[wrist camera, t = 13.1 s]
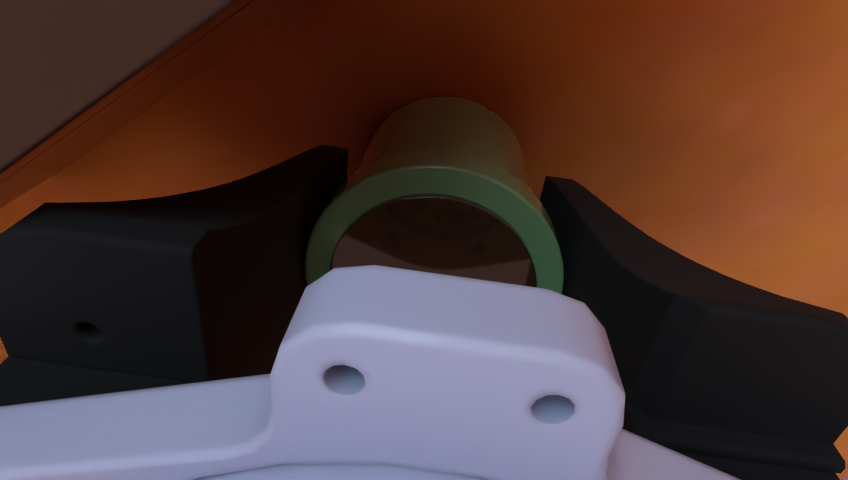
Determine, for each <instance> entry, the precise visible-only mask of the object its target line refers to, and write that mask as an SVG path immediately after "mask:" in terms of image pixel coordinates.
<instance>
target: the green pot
mask: <svg viewBox="0 0 848 480" xmlns="http://www.w3.org/2000/svg"><path fill="white" fill-rule="evenodd" d="M367 265H378V266H386V267H393V268H400V269H407V270H414V271H421V272H429V273H436V274H443V275H450V276H457V277H464V278H472V279H479V280H486V281H493V282H500V283H507V284H515V285H522V286H529V287H536V288H543V289H549V290H551V291H554V292H557V293H559V294H562V291H563V283H564V266H563V258H562V254H561V250H560V246H559V242H558V239H557V235H556V231H555V228H554V225H553V223H552V221H551V219H550V216H549V214H548V213H547V211H546V209H545V208H544V206H543V205H542V203H541V202H540V200H539V199H538V198H537V197H536V196H535V195H534V194H533V192H532V191H531V188H530V183H529V178H528V173H527V168H526V163H525V158H524V155H523V151H522V148H521V146H520V143H519V141H518V139H517V137H516V136H515V134H514V132H513V131H512V129H511V128H510V127H509V126H508V125H507V123H506V122H505V121H504V120H502V119H501V118H500V117H499V116H498V115H497V114H495V113H494V112H493V111H491V110H490V109H488V108H486V107H484V106H482V105H480V104H478V103H476V102H473V101H470V100H467V99H462V98H457V97H446V96H443V97H431V98H425V99H421V100H418V101H415V102H412V103H409V104H407V105H405V106H403V107H401V108H400V109H398V110H397V111H395V112H394V113H392V114H391V115H390V116H389V117H388V118H387V119H385V120H384V121H383V123H382V124H381V125H380V126H379V127H378V129H377V130H376V132H375V133H374V135H373V136H372V138H371V141H370V143H369V145H368V147H367V150H366V152H365V154H364V156H363V159H362V161H361V163H360V165H359V168H358V170H357V172H356V173H354V174H353V175H351V176H350V177H349V178H348V179H347V180H346V181H344V182H343V183H342V184H341V185H340V186H339V187H338V188H337V189H336V190H335V192H334V193H333V194H332V195H331V196H330V198H329V199H328V201H327V202H326V204H325V206H324V207H323V209H322V211H321V213H320V215H319V217H318V219H317V221H316V223H315V225H314V227H313V229H312V232H311V234H310V237H309V240H308V244H307V248H306V254H305V275H306V282H307V286H308V285H310V284H311V283H313V282H314V281H316V280H317V279H319V278H320V277H322V276H323V275H325V274H326V273H328V272H329V271H331V270H332V269H334V268H342V267H354V266H367Z"/></svg>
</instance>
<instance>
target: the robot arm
mask: <svg viewBox="0 0 848 480" xmlns="http://www.w3.org/2000/svg"><path fill="white" fill-rule="evenodd" d="M347 166H348V148H341V147H334V146H327V145H321V146H317V147H315V148H312V149H310V150H308V151H305V152H303V153H301V154H299V155H297V156H295V157H293V158H290V159H288V160H286V161H284V162H282V163H280V164H277V165H275V166H273V167H270V168H268V169H265V170H263V171H260V172H258V173H255V174H253V175H250V176H248V177H245V178H242V179H239V180H236V181H233V182H230V183H226V184H223V185H219V186H215V187H212V188H208V189H203V190H198V191H193V192H188V193H182V194H177V195H171V196H166V197H158V198H150V199H141V200H129V201H116V202H79V203H44V204H43V205H41V206H40V207H39V208H37V209H36V210H34V211H33V212H31V213H30V214H29V215H27V216H26V217H24V218H23V219H22V220H20V221H19V222H17V223H16V224H14V225H13V226H12V227H10V228H9V229H7V230H6V231H5V232H3V233H2V234H0V337H1V339H2V342H3V344H4V346H5V349H6V351H7V354H8V356H9V357H8V358H7V359H5V360H4V361H3V362H2V363H1V364H0V480H840V479H839V478H838V476H837V475H836V473H841V472H842V471H843V470H844V469H845V461H844V459H843V458H842V456H841V455H840V453H839V452H838V450H837V449H836V447H835V446H834V444H833V443H834V442H835V441H836V439H837V438H838V437H839V436H840V435H841V433H842V432H843V431H844V430H845V429H846V427H847V426H848V318H847V317H846V316H845V315H844V314H842V313H839V312H835V311H832V310H828V309H825V308H821V307H818V306H814V305H811V304H807V303H804V302H800V301H796V300H793V299H789V298H786V297H782V296H779V295H776V294H773V293H771V292H768V291H765V290H762V289H759V288H756V287H754V286H751V285H748V284H745V283H743V282H740V281H738V280H735V279H733V278H730V277H727V276H725V275H723V274H720V273H718V272H716V271H714V270H712V269H709V268H707V267H705V266H703V265H701V264H698V263H696V262H694V261H692V260H690V259H688V258H686V257H684V256H682V255H681V254H679V253H677V252H675V251H673V250H672V249H670V248H668V247H666V246H665V245H663V244H661V243H659V242H658V241H656V240H655V239H653V238H651V237H650V236H648V235H647V234H645V233H644V232H642V231H641V230H639V229H638V228H637V227H635V226H634V225H632V224H631V223H629V222H628V221H627V220H625V219H624V218H623V217H621V216H620V215H619V214H617V213H616V212H615V211H613V210H612V209H611V208H610V207H608V206H607V205H606V204H605V203H603V202H602V201H601V200H600V199H598V198H597V197H596V196H595V195H593V194H592V193H591V192H590V191H588V190H587V189H586V188H584V187H583V186H582V185H580V184H579V183H578V182H576V181H574V180H572V179H566V178H558V177H551V176H546V178H545V182H544V186H543V189H542V193H541V197H540V202H541V203H542V205H543V206H544V208H545V209H546V211H547V213H548V214H549V216H550V219H551V221H552V223H553V225H554V228H555V231H556V235H557V239H558V242H559V246H560V250H561V254H562V258H563V266H564V283H563V291H562V294H559V293H557V292H554V291H551V290H549V289H543V288H536V287H529V286H522V285H515V284H507V283H500V282H493V281H486V280H479V279H472V278H464V277H457V276H450V275H443V274H436V273H429V272H421V271H414V270H407V269H400V268H393V267H386V266H378V265H367V266H354V267H342V268H334V269H332V270H331V271H329V272H328V273H326V274H325V275H323V276H322V277H320V278H319V279H317V280H316V281H314V282H313V283H311V284H310V285H308V286H307V282H306V275H305V254H306V248H307V244H308V240H309V237H310V234H311V232H312V229H313V227H314V225H315V223H316V221H317V219H318V217H319V215H320V213H321V211H322V209H323V207H324V206H325V204H326V202H327V201H328V199H329V198H330V196H331V195H332V194H333V193H334V192H335V190H336V189H337V188H338V187H339V186H340V185H341V184H342V183H343V182H344V181H346V180H347Z"/></svg>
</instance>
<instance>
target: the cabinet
mask: <svg viewBox="0 0 848 480" xmlns="http://www.w3.org/2000/svg"><path fill="white" fill-rule="evenodd" d="M303 1H304V0H0V208H2V207H4V206H5V205H7V204H8V203H10V202H11V201H13V200H15V199H16V198H18V197H19V196H21V195H23V194H24V193H26V192H27V191H29V190H30V189H32V188H34V187H35V186H37V185H38V184H40V183H41V182H43V181H45V180H46V179H48V178H49V177H51V176H52V175H54V174H55V173H56V172H58V171H59V170H61V169H62V168H64V167H65V166H67V165H68V164H69V163H71V162H72V161H74V160H75V159H77V158H78V157H79V156H81V155H82V154H84V153H85V152H87V151H88V150H90V149H91V148H92V147H94V146H95V145H97V144H98V143H100V142H101V141H103V140H104V139H105V138H107V137H108V136H110V135H111V134H113V133H114V132H115V131H117V130H118V129H120V128H121V127H123V126H124V125H126V124H127V123H128V122H130V121H131V120H133V119H134V118H136V117H137V116H139V115H140V114H141V113H143V112H144V111H146V110H147V109H149V108H150V107H151V106H153V105H154V104H156V103H157V102H159V101H160V100H162V99H163V98H164V97H166V96H167V95H169V94H170V93H172V92H173V91H174V90H176V89H177V88H179V87H180V86H182V85H183V84H185V83H186V82H187V81H189V80H190V79H192V78H193V77H195V76H196V75H198V74H199V73H200V72H202V71H203V70H205V69H206V68H208V67H209V66H210V65H212V64H213V63H215V62H216V61H218V60H219V59H221V58H222V57H223V56H225V55H226V54H228V53H229V52H231V51H232V50H234V49H235V48H236V47H238V46H239V45H241V44H242V43H244V42H245V41H246V40H248V39H249V38H251V37H252V36H254V35H255V34H257V33H258V32H259V31H261V30H262V29H264V28H265V27H267V26H268V25H269V24H271V23H272V22H274V21H275V20H277V19H278V18H280V17H281V16H282V15H284V14H285V13H287V12H288V11H290V10H291V9H293V8H294V7H295V6H297V5H298V4H300V3H301V2H303Z"/></svg>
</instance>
